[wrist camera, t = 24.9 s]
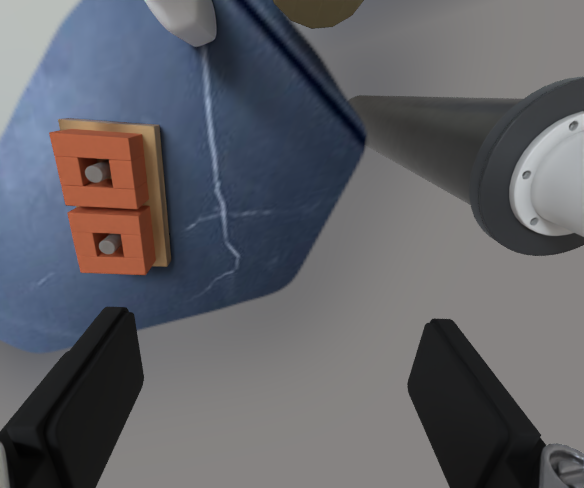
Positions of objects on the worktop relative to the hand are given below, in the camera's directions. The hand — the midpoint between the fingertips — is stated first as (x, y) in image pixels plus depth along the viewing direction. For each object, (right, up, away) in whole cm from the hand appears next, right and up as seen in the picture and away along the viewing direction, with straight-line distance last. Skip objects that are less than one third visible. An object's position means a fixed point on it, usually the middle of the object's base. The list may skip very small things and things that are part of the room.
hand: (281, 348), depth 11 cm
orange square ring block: (-17, +4, +22) cm, 28 cm away
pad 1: (-16, +10, +19) cm, 27 cm away
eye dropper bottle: (-8, +23, +16) cm, 29 cm away
